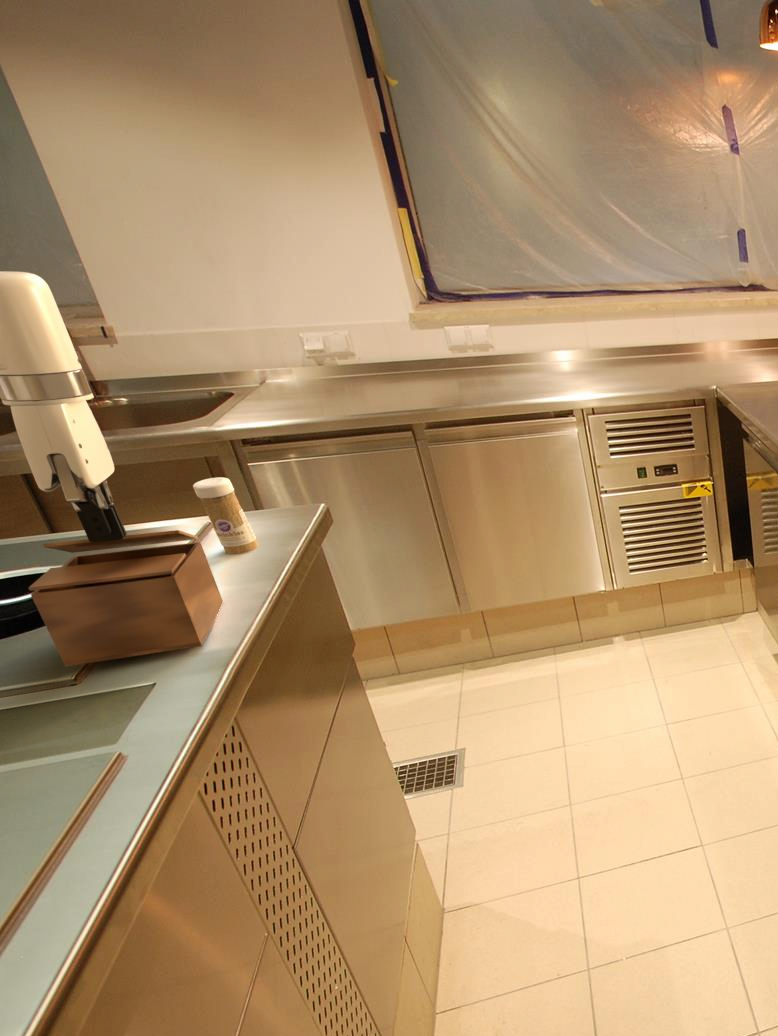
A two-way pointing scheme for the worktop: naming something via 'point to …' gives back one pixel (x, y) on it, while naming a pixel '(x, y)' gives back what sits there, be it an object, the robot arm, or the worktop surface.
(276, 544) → the worktop surface
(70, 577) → the brown wooden box
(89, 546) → the flap
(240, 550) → the sprinkles bottle
